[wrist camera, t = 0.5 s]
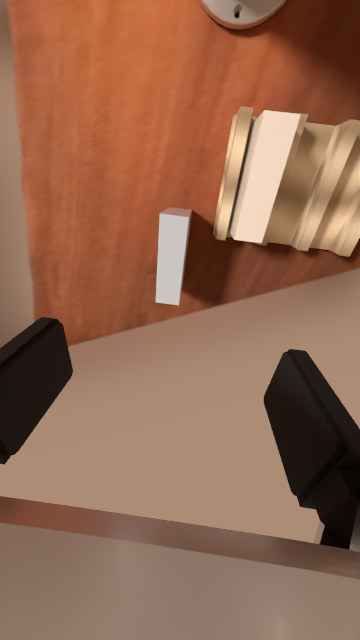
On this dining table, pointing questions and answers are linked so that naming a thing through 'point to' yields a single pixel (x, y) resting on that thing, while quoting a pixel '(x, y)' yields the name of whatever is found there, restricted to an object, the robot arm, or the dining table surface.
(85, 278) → the dining table surface
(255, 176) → the cream foam brick
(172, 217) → the white rectangular block
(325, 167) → the rack
